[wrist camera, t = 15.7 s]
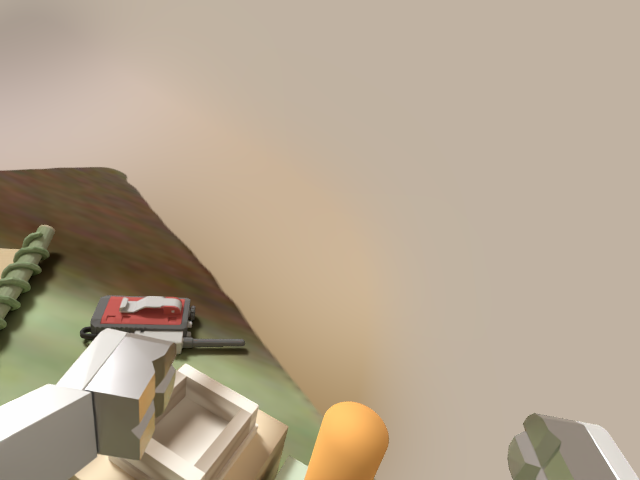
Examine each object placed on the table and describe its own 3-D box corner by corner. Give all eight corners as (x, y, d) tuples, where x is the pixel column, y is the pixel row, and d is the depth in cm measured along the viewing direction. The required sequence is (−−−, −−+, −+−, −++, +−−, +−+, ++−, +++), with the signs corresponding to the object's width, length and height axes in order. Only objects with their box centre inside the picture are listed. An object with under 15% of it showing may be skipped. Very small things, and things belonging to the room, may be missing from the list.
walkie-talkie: (74, 356, 47) (244, 356, 53) (70, 328, 45) (247, 331, 51) (95, 309, 55) (242, 313, 60) (93, 283, 53) (245, 289, 58)
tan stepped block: (275, 479, 39) (295, 399, 34) (190, 620, 29) (199, 538, 24) (179, 419, 42) (183, 338, 37) (74, 526, 32) (59, 436, 27)
